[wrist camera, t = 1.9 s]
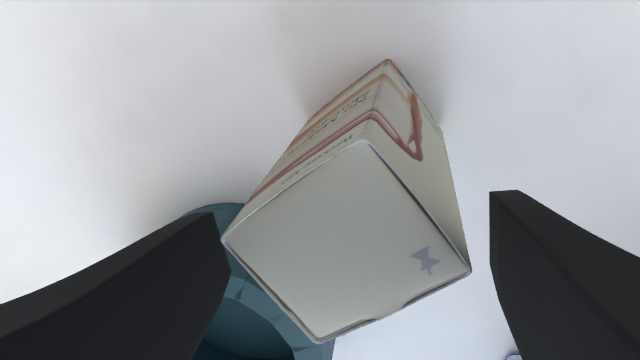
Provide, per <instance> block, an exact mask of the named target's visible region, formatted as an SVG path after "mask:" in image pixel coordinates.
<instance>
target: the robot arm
mask: <svg viewBox="0 0 640 360" xmlns="http://www.w3.org/2000/svg"><path fill="white" fill-rule="evenodd" d="M489 213H490V267H491V271H492V275H493V279H494V283H495V287H496V291H497V295H498V299H499V302H500V304H501V307H502V310H503V312H504V315H505V317H506V320H507V323H508V325H509V328H510V330H511V333H512V335H513V338H514V340H515V343H516V345H517V348H518V350H519V353H520V355H511V356H509V357H508V358H507V359H506V360H640V257H638V256H635V255H633V254H631V253H629V252H627V251H625V250H623V249H621V248H619V247H617V246H615V245H613V244H611V243H609V242H607V241H605V240H603V239H601V238H599V237H598V236H596V235H594V234H592V233H590V232H588V231H587V230H585V229H583V228H581V227H579V226H578V225H576V224H574V223H572V222H571V221H569V220H567V219H566V218H564V217H562V216H561V215H559V214H557V213H556V212H554V211H552V210H551V209H549V208H547V207H546V206H544V205H543V204H541V203H539V202H538V201H536V200H535V199H533V198H531V197H530V196H528V195H526V194H525V193H523V192H521V191H519V190H507V191H493V192H489ZM220 238H221V236H220V233H219V230H218V227H217V224H216V220H215V217H214V214H213V212H200V213H192V214H189V215H186V216H184V217H182V218H180V219H178V220H175V221H173V222H172V223H170V224H168V225H166V226H164V227H162V228H160V229H158V230H156V231H155V232H153V233H151V234H149V235H147V236H145V237H144V238H142V239H140V240H138V241H136V242H135V243H133V244H131V245H129V246H127V247H125V248H124V249H122V250H120V251H118V252H116V253H114V254H112V255H110V256H108V257H106V258H104V259H103V260H101V261H99V262H97V263H95V264H93V265H91V266H89V267H87V268H85V269H83V270H81V271H79V272H77V273H75V274H73V275H71V276H68V277H66V278H64V279H62V280H60V281H57V282H55V283H53V284H51V285H48V286H46V287H44V288H41V289H39V290H37V291H34V292H32V293H29V294H27V295H24V296H22V297H19V298H16V299H14V300H11V301H8V302H6V303H3V304H0V360H191V359H192V357H193V355H194V353H195V352H196V350H197V348H198V346H199V344H200V342H201V340H202V338H203V337H204V335H205V333H206V331H207V329H208V327H209V325H210V323H211V321H212V320H213V318H214V316H215V314H216V312H217V310H218V308H219V306H220V304H221V301H222V299H223V296H224V293H225V291H226V288H227V285H228V282H229V279H230V276H231V273H232V271H231V268H230V264H229V261H228V258H227V255H226V252H225V249H224V246H223V244H222V242H221V241H220Z"/></svg>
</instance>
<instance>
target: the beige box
mask: <svg viewBox="0 0 640 360" xmlns="http://www.w3.org/2000/svg"><path fill="white" fill-rule="evenodd" d="M220 241H221V242H222V244H223V245H224V246H225V248H227V249H228V250H229V251H230V253H231V254H232V255H233V256H234V257H235V258H236V259H237V260H238V262H239V263H240V264H241V265H242V266H243V267H244V268H245V269H246V271H247V272H248V273H249V274H250V275H251V276H252V277H253V278H254V279H255V280H256V282H257V283H258V284H259V285H260V286H261V287H262V288H263V289H264V290H265V292H266V293H267V294H268V295H269V296H270V297H271V298H272V299H273V300H274V301H275V302H276V303H277V304H278V306H279V307H280V308H281V309H282V310H283V311H284V312H285V313H286V314H287V315H288V316H289V318H290V319H291V320H292V321H293V322H294V323H295V324H296V325H297V326H298V327H299V328H300V329H301V330H302V331H303V332H304V333H305V334H306V335H307V336H308V338H309V339H310V340H311V341H312V342H314V343H316V344H322V343H325V342H327V341H329V340H332V339H334V338H336V337H339V336H341V335H345V334H347V333H349V332H351V331H353V330H356V329H358V328H360V327H363V326H365V325H368V324H371V323H373V322H375V321H378V320H381V319H383V318H385V317H387V316H390V315H392V314H394V313H396V312H398V311H400V310H402V309H404V308H406V307H407V306H409V305H411V304H413V303H415V302H417V301H419V300H421V299H423V298H425V297H427V296H429V295H431V294H433V293H435V292H437V291H439V290H441V289H443V288H445V287H447V286H449V285H451V284H453V283H455V282H457V281H458V280H460V279H463V278H465V277H467V276H469V275H470V274H471V273H472V267H471V263H470V259H469V254H468V250H467V245H466V240H465V235H464V231H463V227H462V221H461V217H460V212H459V208H458V203H457V198H456V193H455V188H454V183H453V179H452V174H451V169H450V165H449V161H448V156H447V151H446V146H445V141H444V137H443V133H442V131H441V129H440V128H439V126H438V125H437V123H436V121H435V120H434V118H433V117H432V115H431V114H430V112H429V111H428V110H427V108H426V107H425V105H424V104H423V102H422V101H421V99H420V98H419V97H418V95H417V94H416V92H415V91H414V90H413V88H412V87H411V85H410V84H409V83H408V81H407V80H406V79H405V78H404V76H403V75H402V74H401V72H400V71H399V70H398V69H397V67H396V66H395V65H394V63H393V62H392V61H391V60H389V59H387V60H385V61H383V62H382V63H380V64H379V65H377V66H376V67H375V68H373V69H372V70H370V71H369V72H368V73H366V74H365V75H364V76H362V77H361V78H360V79H358V80H357V81H356V82H354V83H353V84H352V85H351V86H349V87H348V88H347V89H345V90H344V91H343V92H342V93H340V94H339V95H338V96H337V97H335V98H334V99H333V100H332V101H330V102H329V103H328V104H327V105H326V106H324V107H323V108H322V109H321V110H319V111H318V112H317V113H316V114H315V115H314V116H313V117H312V118H310V119H309V120H308V121H307V123H306V124H305V126H304V127H303V128H302V129H301V131H300V132H299V133H298V134H297V136H296V137H295V138H294V140H293V141H292V143H291V144H290V146H289V147H288V148H287V150H286V151H285V152H284V154H283V155H282V156H281V158H280V159H279V160H278V162H277V163H276V164H275V165H274V167H273V168H272V169H271V171H270V172H269V173H268V175H267V176H266V178H265V179H264V180H263V182H262V183H261V184H260V186H259V187H258V188H257V190H256V191H255V192H254V194H253V195H252V197H251V198H250V199H249V201H248V202H247V203H246V204H245V206H244V207H243V209H242V210H241V211H240V213H239V214H238V215H237V217H236V218H235V219H234V221H233V222H232V223H231V224H230V226H229V227H228V228H227V230H226V231H225V232H224V234H223V235H222V236H221V238H220Z"/></svg>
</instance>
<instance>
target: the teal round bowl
mask: <svg viewBox="0 0 640 360" xmlns="http://www.w3.org/2000/svg"><path fill="white" fill-rule="evenodd" d="M244 206H245V205H244V204H235V203H225V204H214V205H208V206H204V207H201V208H197V209H195V210H193V211H191V212H188V213H186V214H185V215H183V216H182V217H184V216H186V215H189V214H192V213H200V212H213V214H214V217H215V220H216V224H217V227H218V230H219V233H220V236H222V235H223V234H224V232H225V231H226V230H227V228H228V227H229V226H230V224H231V223H232V222H233V221H234V219H235V218H236V217H237V215H238V214H239V213H240V211H241V210H242V209H243V207H244ZM182 217H180V218H182ZM180 218H179V219H180ZM223 246H224V245H223ZM224 249H225V252H226V255H227V258H228V261H229V264H230V268H231V271H232V273H231V276H230V279H229V282H228V285H227V288H226V291H225V293H224V296H223V299H222V301H221V304H220V306H219V308H218V310H217V312H216V314H215V316H214V318H213V320H212V321H211V323H210V325H209V327H208V329H207V331H206V333H205V335H204V337H203V338H202V340H201V342H200V344H199V346H198V348H197V350H196V352H195V353H194V355H193V357H192V359H191V360H332V355H333V349H334V344H335V338H334V339H332V340H329V341H327V342H325V343H322V344H316V343H314V342H312V341H311V340H310V339H309V338H308V336H307V335H306V334H305V333H304V332H303V331H302V330H301V329H300V328H299V327H298V326H297V325H296V324H295V323H294V322H293V321H292V320H291V319H290V318H289V316H288V315H287V314H286V313H285V312H284V311H283V310H282V309H281V308H280V307H279V306H278V304H277V303H276V302H275V301H274V300H273V299H272V298H271V297H270V296H269V295H268V294H267V293H266V292H265V290H264V289H263V288H262V287H261V286H260V285H259V284H258V283H257V282H256V280H255V279H254V278H253V277H252V276H251V275H250V274H249V273H248V272H247V271H246V269H245V268H244V267H243V266H242V265H241V264H240V263H239V262H238V260H237V259H236V258H235V257H234V256H233V255H232V254H231V253H230V251H229V250H228V249H227V248H225V246H224Z"/></svg>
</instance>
